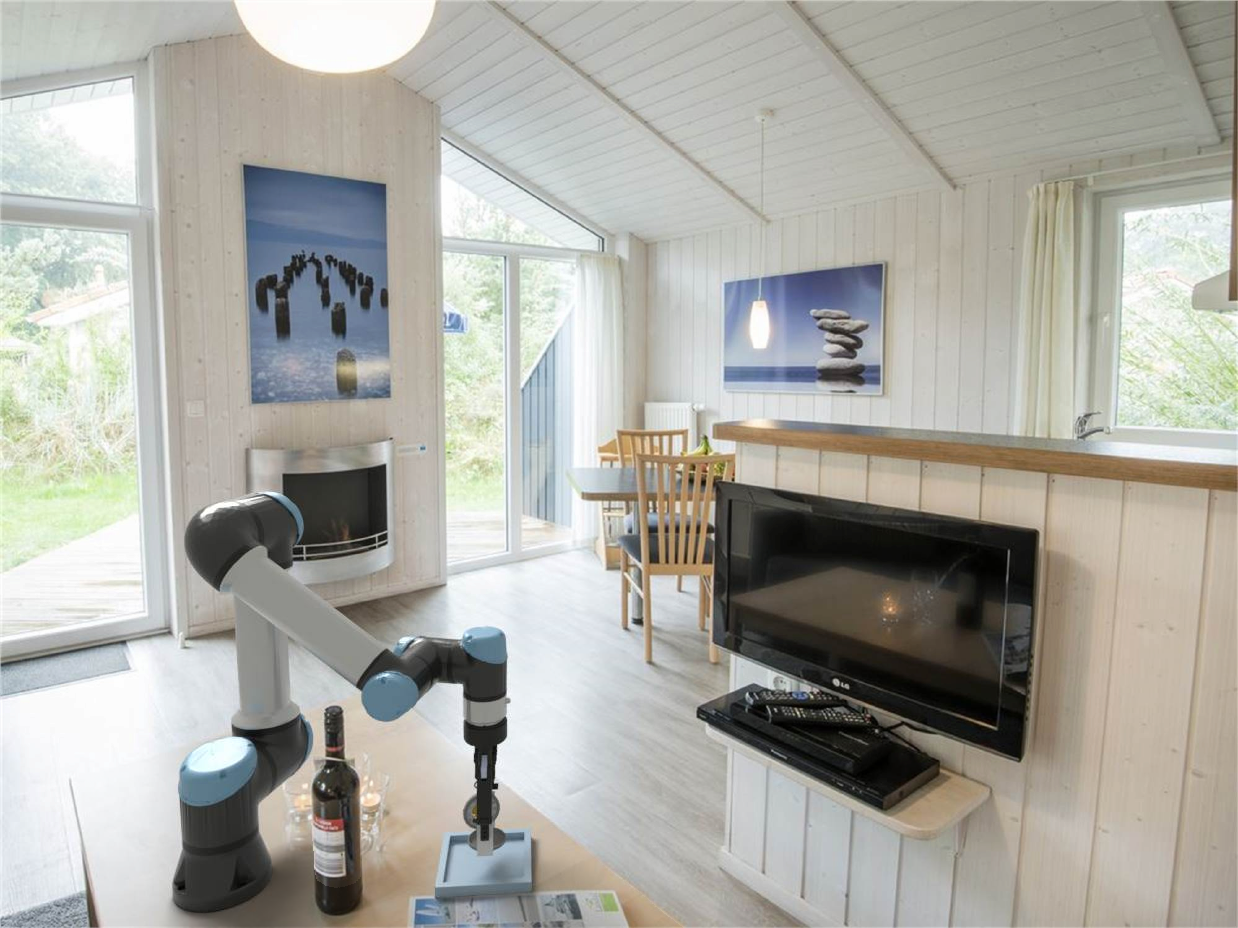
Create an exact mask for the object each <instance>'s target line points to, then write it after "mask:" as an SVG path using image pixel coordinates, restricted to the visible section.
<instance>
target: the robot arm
mask: <svg viewBox="0 0 1238 928" xmlns="http://www.w3.org/2000/svg"><path fill="white" fill-rule="evenodd" d="M304 528H305V527H304V519H303V516H302V514H301V511H300V510H299V508H298V507H297V505H296V504H295V503H293V502H292V500H290V499H289V498H288V497H287V496H285V495H283V494H281V493H279V492H275V491H261V492H260V491H257V492H251V493H248V494H245V495H241V496H238V497H234V498H232V499H231V498H230V499H227V500H223V501H218V502H213V503H211V504H208V505H206V506H204V507H203V508H201V509H200V510H198V511H197V512H196V513H195V514H194V515H193V516H192V518H191V519H190V521H189V522H188V524H187V526H186V529H185V533H184V537H183V538H184V541H183V543H184V544H183V545H184V546H183V547H184V551H185V554H186V557H187V559H188V561H189V563H190V565H191V567H192V568H193V569H194V570H195V572H196V573H197V574H198V575H199V576H200V577H201V579H203V580H204V581H205V582H206V583H207V584H208V585H209V586H210V587H212V588H213V589H215V590H216V591H217V592H219V594H221V595H222V596H230V595H232V596H233V597H232V598H233V611H234V615H233V616H234V631H235V649H236V666H237V681H238V699H239V701H238V702H239V709H237V711H236V712H235V713H234V714H233V715H232V716H231V719H230V723H231V736H224V737H220V738H216V739H215V740H214V741H212V742H211V741H210V742H209V741H208V742H205V743H204V744H202V745H200V746H198V747H196V748H194V749H193V750H192V751H190V752H189V754H188V755H187V756H186V757H185V758H184V759H183V761H182V763H181V765H180V767H179V771H178V772H179V776H178V782H177V783H178V784H177V785H178V786H177V790H178V791H177V792H178V795H179V808H180V809H179V813H180V824H181V825H180V827H181V828H180V830H181V840H182V841H181V844H182V845H181V847H182V849H181V853H180V856H179V859H178V863H177V866H176V869H175V872H174V874H173V878H172V883H171V886H172V887H171V888H172V899H173V901H174V903H175V905H177V907H179V908H181V909H183V910H186V911H189V912H196V913H209V912H216V911H217V912H218V911H220V910H225V909H228V908H229V909H230V908H232V907H234V906H236V905H239V904H242V903H244V902H246V901H248V900H249V899H252V898H253V897H254V896H255V895H257V894H259V893H260V892H261V891H262V890H263V889H264V888H265V887H266V886H267V885H268V884H269V881H270V880H271V878H272V873H273V872H272V871H273V870H272V867H273V866H272V857H271V855H270V853H269V852H270V851H269V850H268V848H267V846H266V843H265V841H264V839H263V837H262V835H261V833H260V823H259V822H260V819H259V805H260V803H261V802H262V801H264V800H265V799H266V798H267V797H268V796H269V795H270V794H272V793H273V792H274V791H275V790H276V789H278V787H280V786H281V785H283V784H284V782H286V781H287V780H288V779H289V778H291V777H292V776H294V775H295V774H296V773H297V772H298V771H299V770H300V769H301V767H302V766H303V765H304V764H305V763H306V761H307V760H308V759H309V756H311V752H312V750H313V747H314V746H313V745H314V732H313V728H312V725H311V724H310V722H309V721H307V720H306V719H305V718H306V716H305V715H304V714H303V713H302V712H301V709H300V706H299V704H297V703H295V702H294V701H293V700H292V699H291V681H290V680H291V679H290V662H289V661H290V660H289V659H290V658H289V657H290V656H289V638H290V639H292V640H293V641H294V642H295V643H297V644H298V645H299V646H301V647H302V648H304V649H305V650H306V651H307V652H309V654H312V655H313V656H314V658H315V657H316V658H317V659H318V660H320V661H321V662H322V663H324V664H325V666H327V667H329V668H330V669H331V670H333V671H334V672H335V673H336V674H337V675H339V676H341V678H343V679H344V680H346V681H347V683H350V684H351V685H352V686H354V687H355V688H356V689H358V690H359V691H360V692H361V695H360V696H361V699H360V700H361V705H362V706H363V708H364V710H365V712H366V714H367V715H368V716H369V717H371V718H372V719H373V720H375V721H377V722H383V723H388V722H389V723H390V722H394V721H396V720H398V719H399V718H401V717H402V716H404V715H405V714H406V713H408V712H409V711H410V710H411V709H413V708H414V707H416V704H417V703H418V701H420V700H421V698H423V697H424V696H425V694H428V692H429V691H430V690H431V689H433V687H434V686H435V685H437V684H438V683H439V684H449V685H462V717H463V722H462V723H463V725H462V726H463V728H462V729H463V731H462V732H463V740H464V742H465V743H466V744H467V745H469V746H471V747H474V752H473V763H474V779H475V780H476V781H477V783H476V787H477V789H476V794H477V817H475V818H476V819H473V823H476V824H477V857H479V856H493V827H494V828H496V820H495V821H494V822H493V817H492V794H494V795H495V796H496V793H495V792H496V790H499V782H498V783H497V782H496V783H495V780H496V764H497V760H498V758H497V757H498V745H500V744H502V743H503V742H504V741H506V739H507V738H508V717H507V713H508V704H510V703H511V702H512V701H511V698H510V697H508V696H507V692H508V688H507V687H508V683H507V682H508V658H509V656H508V651H507V650H508V649H507V648H508V647H507V638H506V637H507V636H506V635H505V632H504V631H503V630H502V629H500V628H498V627H494V626H488V625H487V626H475V627H471V628H469V629H467V630H465V631H464V632H463V634H462V638H461V639H456V638H455V639H453V638H444V637H443V638H442V637H432V636H426V635H416V636H415V635H414V636H410V635H409V636H403V637H401V638H400V639H399V640H398V641H397V642H396V646H395V647H394V649H393V651H392V650H390V649H389V648H387V647H386V646H385V645H383V644H382V643H381V642H379V640H377V639H375V638H374V637H373V636H371V634H369V633H368V632H367V631H366V630H364V629H363V628H361V627H360V626H359V625H357V624H356V623H355V622H354V621H352V620H351V619H350V618H348V617H347V616H346V615H344V614H343V613H342V612H340V611H339V610H338V609H336V608H335V607H334V606H332V605H331V604H330V603H329V602H327V601H326V600H324V598H322V597H321V596H319V595H318V594H316V593H315V591H313V590H312V589H311V588H309V587H308V586H306V585H305V584H303V582H301V581H300V580H298V579H297V578H296V577H294V576H293V575H291V574H290V571H291V569H293V567H294V553H293V548H295V547H296V546H297V545H298V543H299V542H300V541H301V539H302V536H303V533H304ZM288 637H289V638H288ZM494 790H495V791H494Z"/></svg>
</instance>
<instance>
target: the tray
mask: <svg viewBox="0 0 1238 928" xmlns="http://www.w3.org/2000/svg"><path fill="white" fill-rule="evenodd" d="M531 828H532V827H527V828H526V827H525V828H508V829H507V828H505V829H501V830H502V831H503V832H504V833H505V835H506V841H505V843H504V845H503V846H501V847H500V848H499V849H496V850H494V851H493V856H479V857H477V851H476V850H473V849H472V848H471V847H470V846H469V845H468V837H469V835H470V834H471V833H472V832H474V831H475V830H466V831H465V830H464V831H463V830H462V831H444V832H443V836H442V843H441V848H440V855H439V861H438V866H437V874H436V878H435V885H434V898H450V897H452V898H453V897H467V896H468V897H469V896H483V895H484V896H485V895H486V896H487V895H502V894H517V893H518V894H520V893H531V892H532V830H531Z"/></svg>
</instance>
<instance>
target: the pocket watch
mask: <svg viewBox="0 0 1238 928" xmlns="http://www.w3.org/2000/svg"><path fill="white" fill-rule="evenodd" d="M473 787H474V789H476V790H477V780H476V781H475V782H474V784H473ZM500 810H501V804H500V802H499V799H498V797H497V796H496V794H495V795H494V794H492V817H493V822H494V821H495V822H496V819H497V818H498V817H499V814H500V812H501V811H500ZM462 817H463V820H464V822H465V824H466V825H467V826H468V827H469V828H471V829H474V830H473V831H474V832H472V833H471V834H470V835H469V837H468V845H469V846H470V847H471V848H472V849H473V850H476V851H477V824H476V823H473V819H476V818H477V793H475V794H473V795H471V796H470V797H469V798H468V800H466V802H465V804H464V807H463V810H462ZM505 841H506V835H505V833H504V832H503V831H502V829H500V828H498V827H493V851H494V850H496V849H499V848H500V847H501V846H503V845H504V843H505Z"/></svg>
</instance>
